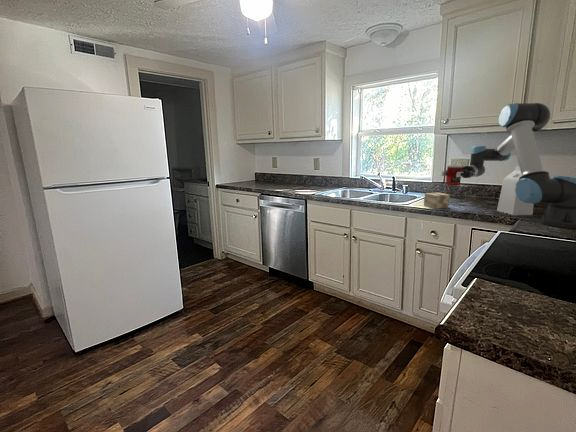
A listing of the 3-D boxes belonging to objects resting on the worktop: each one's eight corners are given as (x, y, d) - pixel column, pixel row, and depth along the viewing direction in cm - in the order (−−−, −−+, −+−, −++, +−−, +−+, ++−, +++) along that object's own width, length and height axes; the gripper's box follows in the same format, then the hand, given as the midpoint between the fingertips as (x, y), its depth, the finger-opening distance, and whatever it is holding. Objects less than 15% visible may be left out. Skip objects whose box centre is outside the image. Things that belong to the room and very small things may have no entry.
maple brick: (437, 204, 202) (438, 192, 201) (448, 207, 193) (449, 194, 191) (423, 205, 200) (424, 193, 198) (434, 208, 191) (435, 195, 189)
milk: (532, 214, 172) (540, 167, 167) (512, 215, 172) (520, 167, 166) (515, 210, 184) (522, 165, 178) (496, 210, 183) (503, 165, 177)
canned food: (451, 185, 183) (453, 166, 181) (442, 183, 191) (444, 165, 188) (463, 185, 185) (465, 166, 182) (453, 183, 192) (455, 165, 190)
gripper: (485, 179, 189) (467, 182, 176) (451, 176, 205) (432, 178, 192) (487, 166, 187) (469, 168, 174) (452, 164, 204) (433, 166, 191)
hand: (449, 174), depth 183 cm, fingers closed on canned food, 8 cm apart
